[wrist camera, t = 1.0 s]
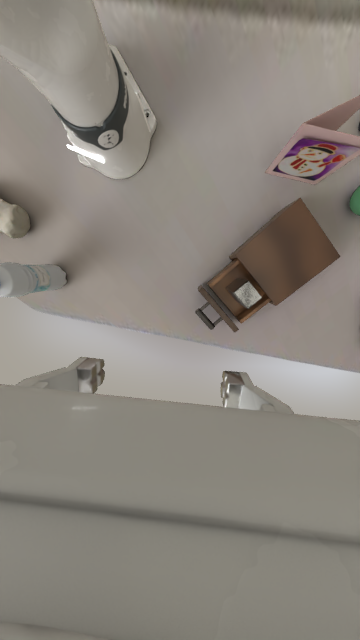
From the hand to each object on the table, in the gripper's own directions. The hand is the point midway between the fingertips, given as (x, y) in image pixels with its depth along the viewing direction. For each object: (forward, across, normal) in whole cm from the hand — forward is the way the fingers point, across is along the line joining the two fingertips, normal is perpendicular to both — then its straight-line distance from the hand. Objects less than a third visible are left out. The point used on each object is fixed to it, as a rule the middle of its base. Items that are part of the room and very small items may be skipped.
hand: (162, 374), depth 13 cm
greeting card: (+39, -22, -31) cm, 54 cm away
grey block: (+37, -13, -3) cm, 39 cm away
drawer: (+38, -12, -2) cm, 40 cm away
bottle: (+39, +34, -2) cm, 51 cm away
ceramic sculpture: (+39, +45, -16) cm, 61 cm away
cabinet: (+39, -21, -11) cm, 45 cm away
